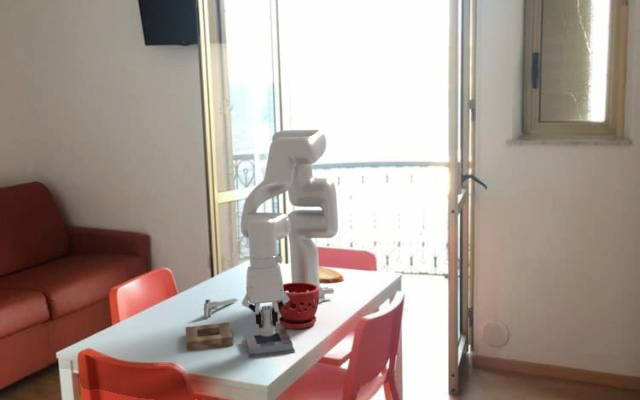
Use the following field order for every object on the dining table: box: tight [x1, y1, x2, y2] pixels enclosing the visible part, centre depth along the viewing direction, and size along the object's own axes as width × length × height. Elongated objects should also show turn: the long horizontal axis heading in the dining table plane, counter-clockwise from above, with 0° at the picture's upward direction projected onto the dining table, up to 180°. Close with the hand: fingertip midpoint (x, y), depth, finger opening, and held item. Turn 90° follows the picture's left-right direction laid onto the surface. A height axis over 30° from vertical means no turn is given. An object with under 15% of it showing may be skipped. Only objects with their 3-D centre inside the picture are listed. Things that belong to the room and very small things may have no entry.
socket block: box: [184, 322, 234, 351], centre depth 200 cm, size 13×13×2 cm
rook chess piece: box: [259, 305, 276, 337], centre depth 192 cm, size 4×4×8 cm
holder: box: [242, 328, 296, 359], centre depth 193 cm, size 13×13×2 cm
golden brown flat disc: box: [319, 265, 345, 284], centre depth 263 cm, size 18×18×4 cm
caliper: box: [203, 298, 239, 320], centre depth 228 cm, size 20×1×6 cm, turn 158°
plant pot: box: [277, 282, 319, 330], centre depth 210 cm, size 13×13×12 cm
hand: (267, 324), depth 192 cm, fingers closed on rook chess piece, 3 cm apart
